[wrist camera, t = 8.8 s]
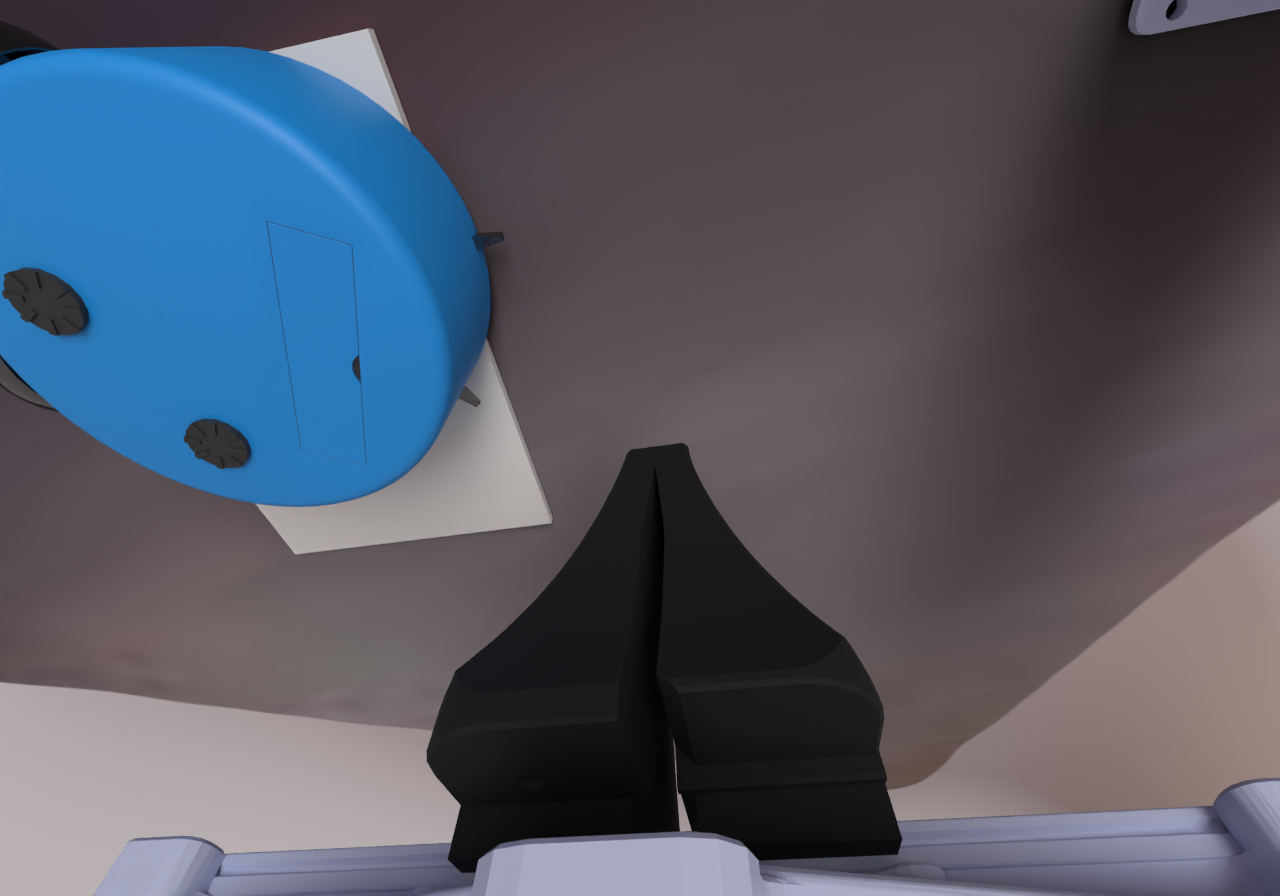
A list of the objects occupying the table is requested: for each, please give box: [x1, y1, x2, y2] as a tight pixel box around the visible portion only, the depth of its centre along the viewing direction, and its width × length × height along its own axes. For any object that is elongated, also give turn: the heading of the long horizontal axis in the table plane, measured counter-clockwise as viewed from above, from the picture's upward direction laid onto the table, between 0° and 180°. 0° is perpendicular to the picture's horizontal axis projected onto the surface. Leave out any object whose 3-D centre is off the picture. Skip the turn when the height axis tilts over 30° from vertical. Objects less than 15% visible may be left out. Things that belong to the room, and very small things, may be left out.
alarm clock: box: [0, 20, 504, 507], centre depth 18 cm, size 13×6×15 cm
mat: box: [256, 29, 553, 554], centre depth 23 cm, size 14×20×1 cm
